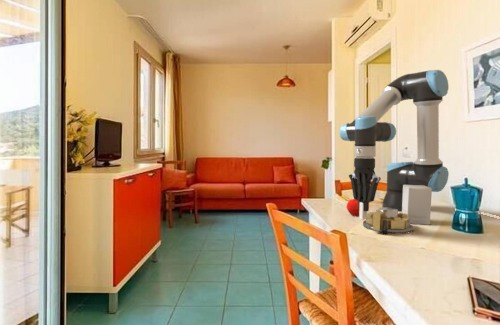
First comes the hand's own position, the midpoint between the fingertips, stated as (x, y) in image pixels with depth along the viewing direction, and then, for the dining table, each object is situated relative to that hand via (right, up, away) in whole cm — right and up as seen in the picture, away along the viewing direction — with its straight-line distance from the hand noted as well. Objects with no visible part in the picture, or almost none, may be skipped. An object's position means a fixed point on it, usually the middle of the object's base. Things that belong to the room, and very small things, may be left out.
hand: (363, 218), depth 126 cm
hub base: (+9, -4, +1) cm, 10 cm away
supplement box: (+26, -3, +11) cm, 28 cm away
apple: (+4, -2, +22) cm, 22 cm away
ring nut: (+9, -2, 0) cm, 9 cm away
